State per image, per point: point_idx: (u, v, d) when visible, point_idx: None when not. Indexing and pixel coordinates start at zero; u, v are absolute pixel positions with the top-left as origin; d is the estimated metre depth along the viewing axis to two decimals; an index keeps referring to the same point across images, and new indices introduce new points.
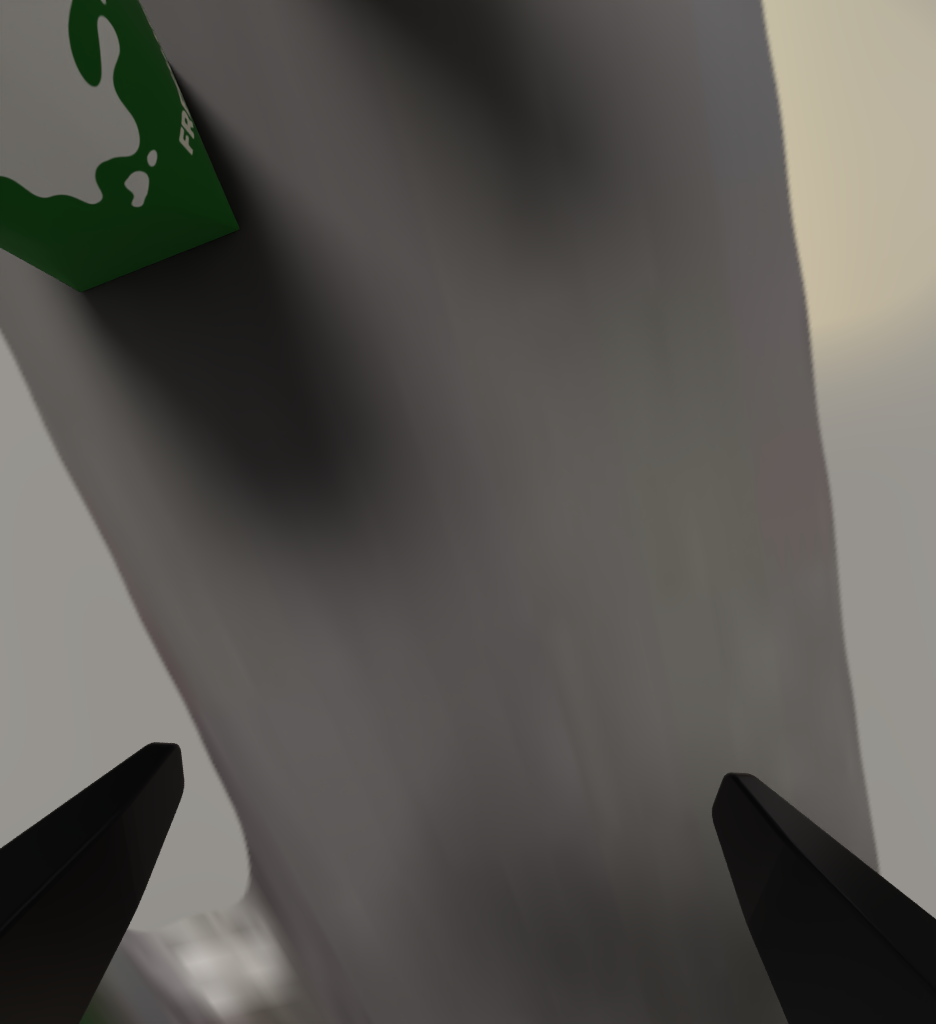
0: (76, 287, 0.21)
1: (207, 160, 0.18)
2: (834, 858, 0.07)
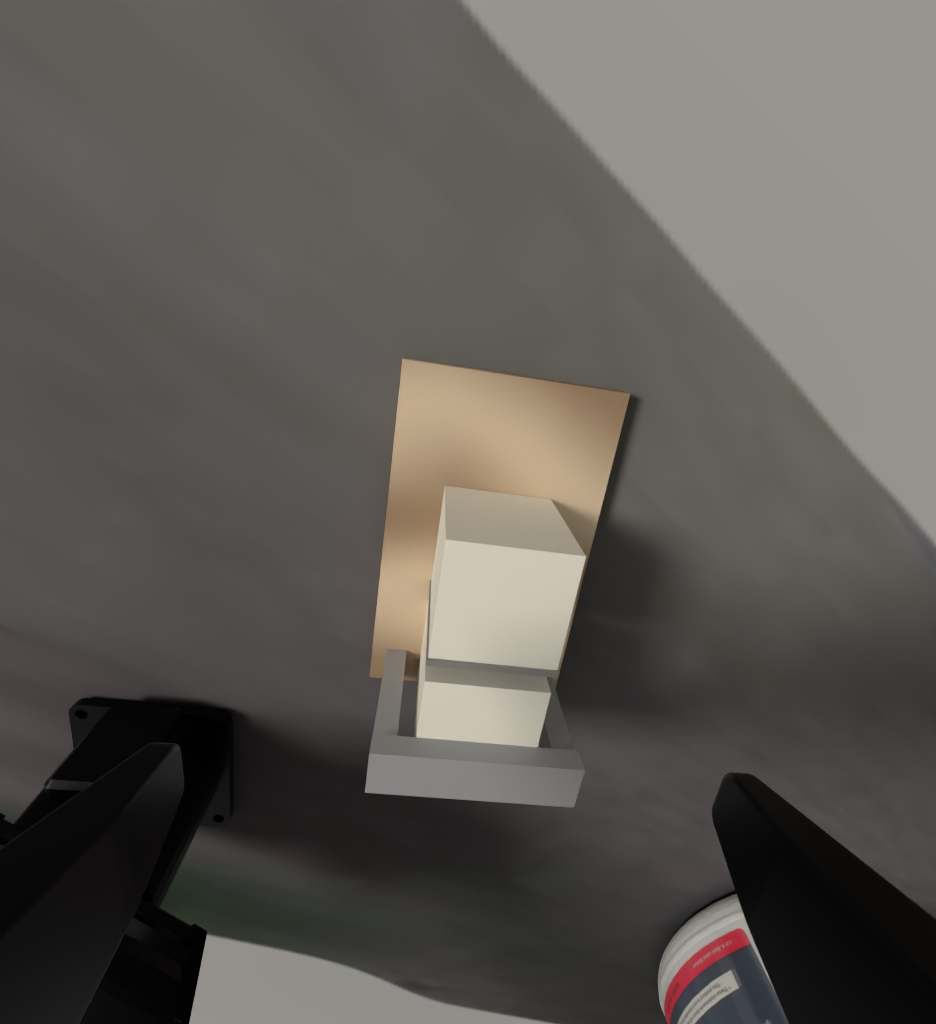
0: None
1: None
2: (834, 858, 0.07)
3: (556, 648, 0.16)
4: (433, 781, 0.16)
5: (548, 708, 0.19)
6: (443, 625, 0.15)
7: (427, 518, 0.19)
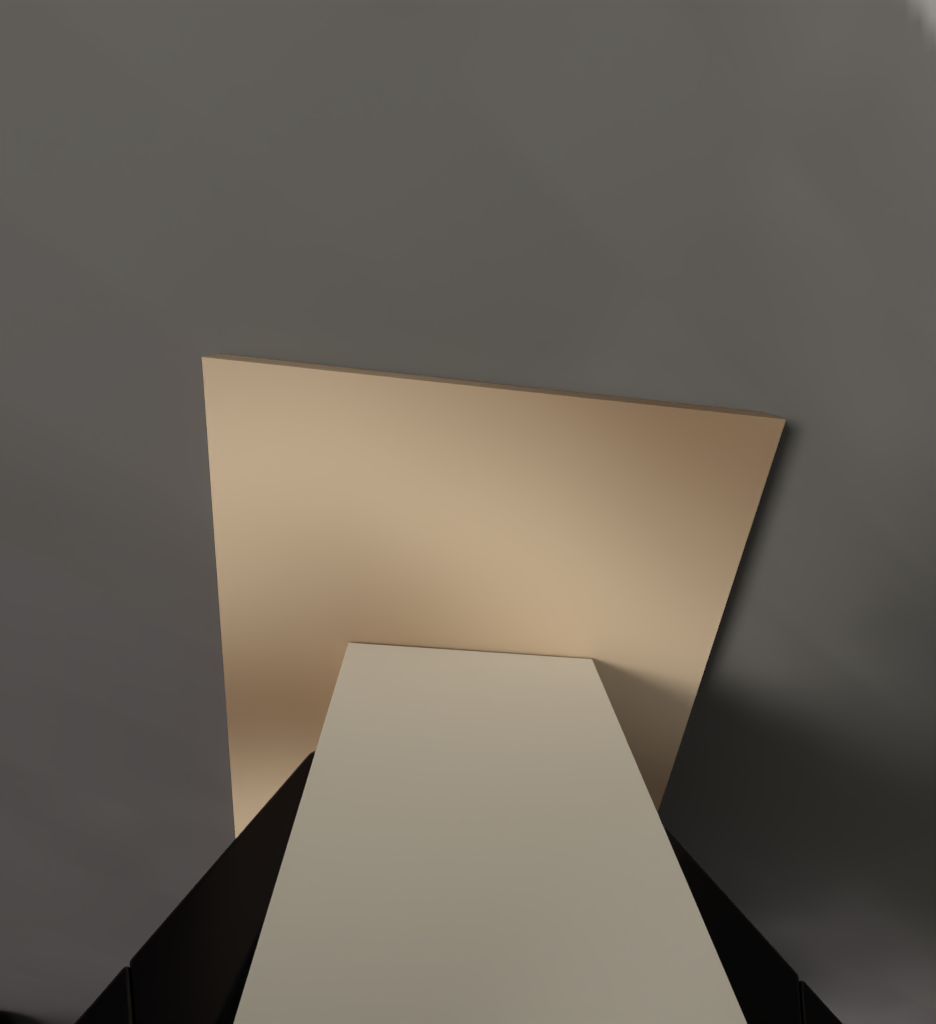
0: None
1: None
2: None
3: None
4: None
5: None
6: None
7: (319, 707, 0.09)
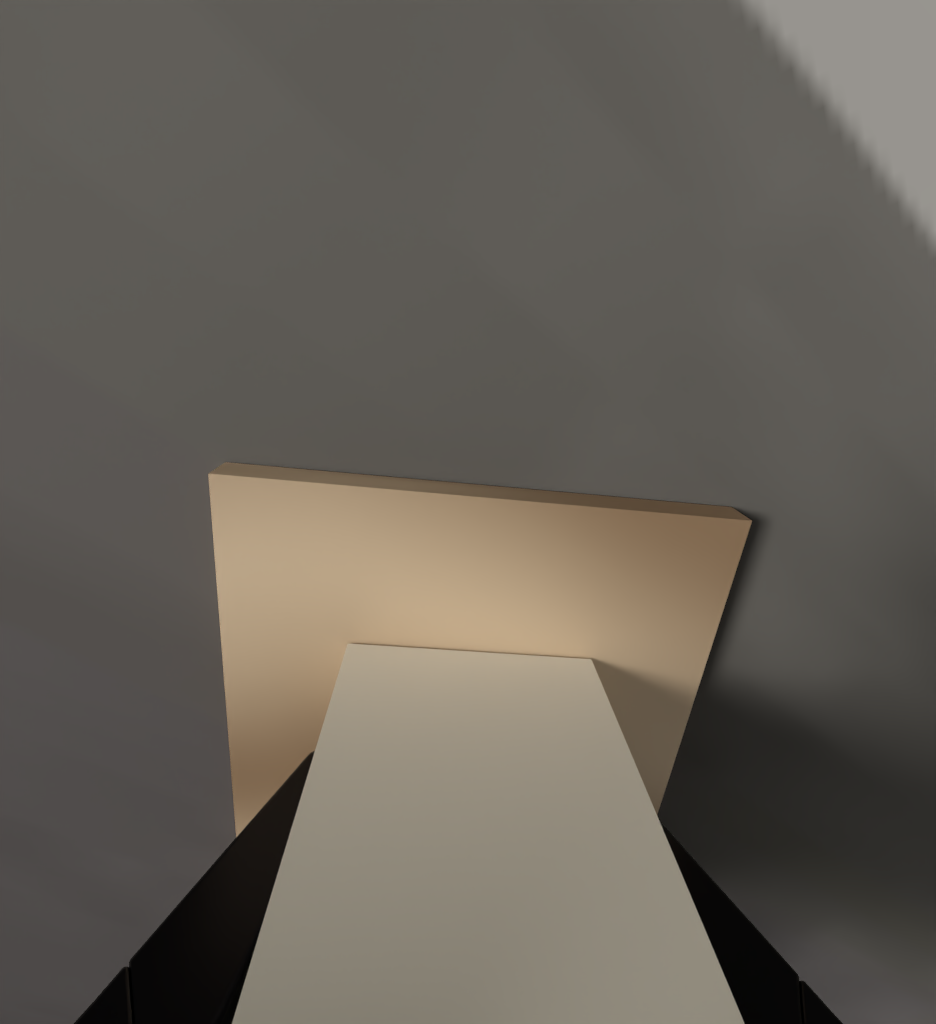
0: None
1: None
2: None
3: None
4: None
5: None
6: None
7: None
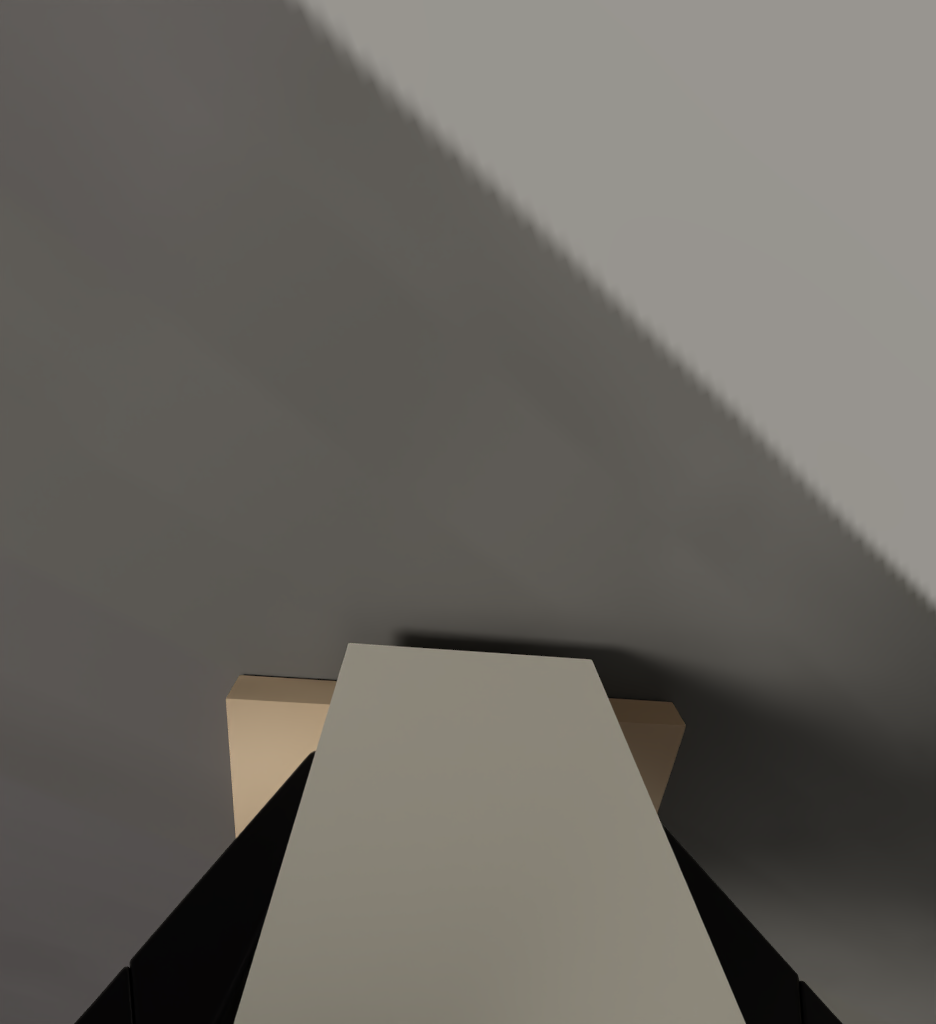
0: None
1: None
2: None
3: None
4: None
5: None
6: None
7: None
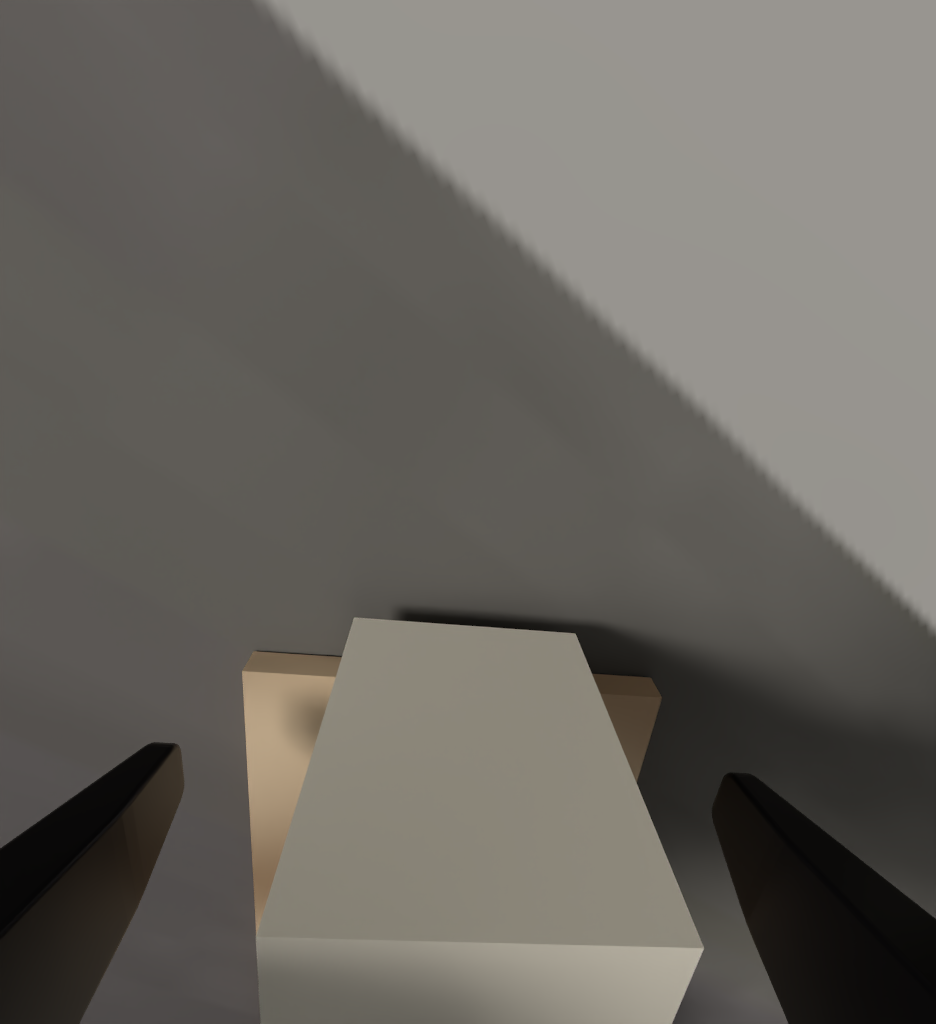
0: None
1: None
2: (834, 858, 0.07)
3: None
4: None
5: None
6: None
7: None
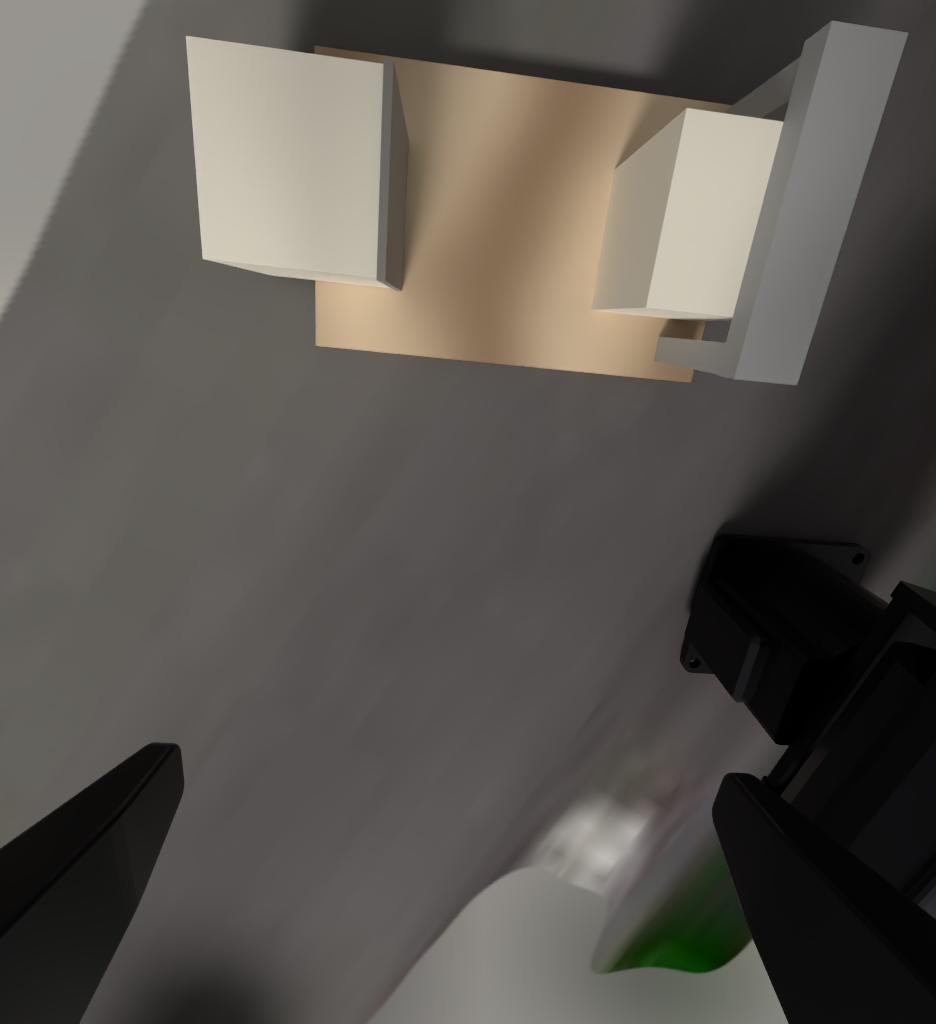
0: None
1: None
2: (834, 858, 0.07)
3: (345, 70, 0.10)
4: (798, 289, 0.12)
5: (750, 112, 0.13)
6: (324, 257, 0.12)
7: (487, 314, 0.17)
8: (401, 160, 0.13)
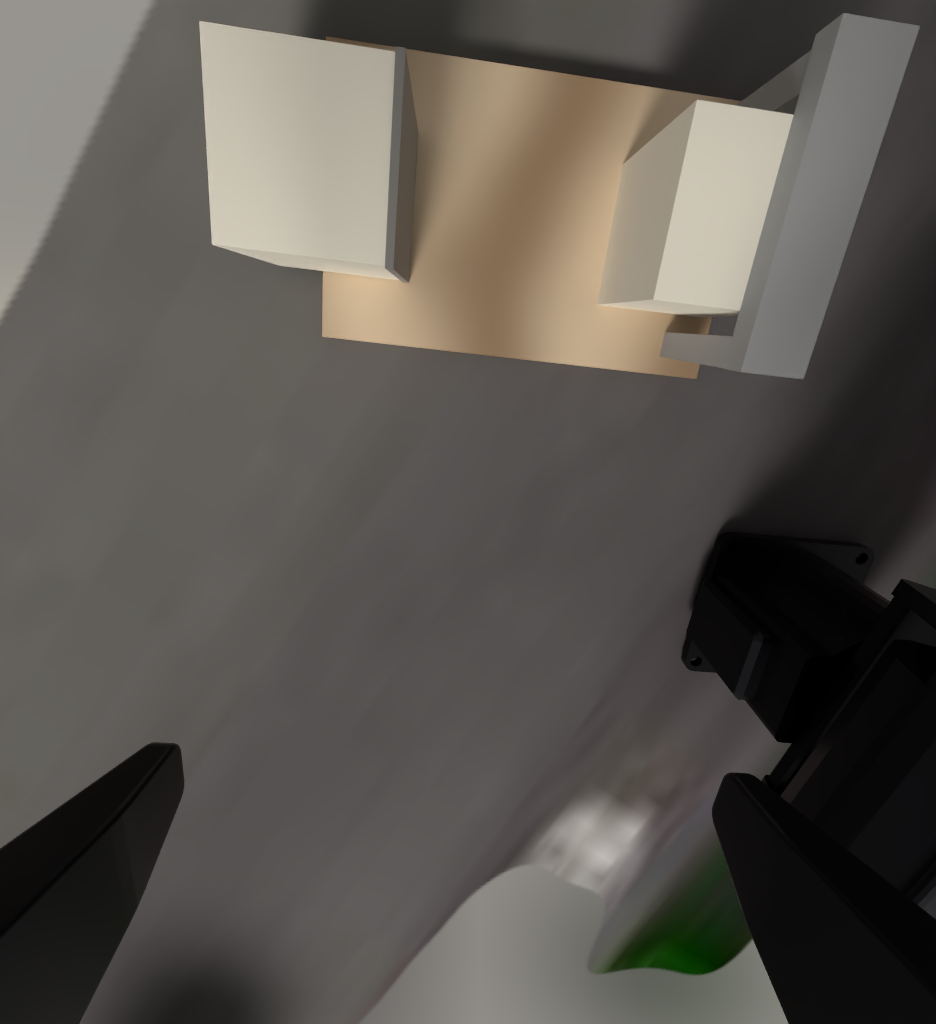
0: None
1: None
2: (834, 858, 0.07)
3: (357, 57, 0.11)
4: (806, 282, 0.12)
5: (760, 107, 0.13)
6: (333, 244, 0.12)
7: (493, 307, 0.17)
8: (411, 150, 0.13)
